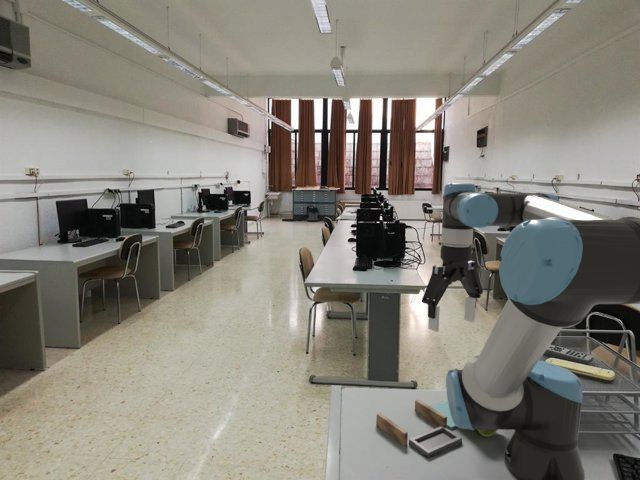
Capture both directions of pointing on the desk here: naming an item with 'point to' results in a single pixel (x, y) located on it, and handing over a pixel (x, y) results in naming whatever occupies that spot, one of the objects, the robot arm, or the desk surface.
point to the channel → (401, 433)
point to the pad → (445, 413)
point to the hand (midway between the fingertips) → (451, 325)
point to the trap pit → (435, 441)
